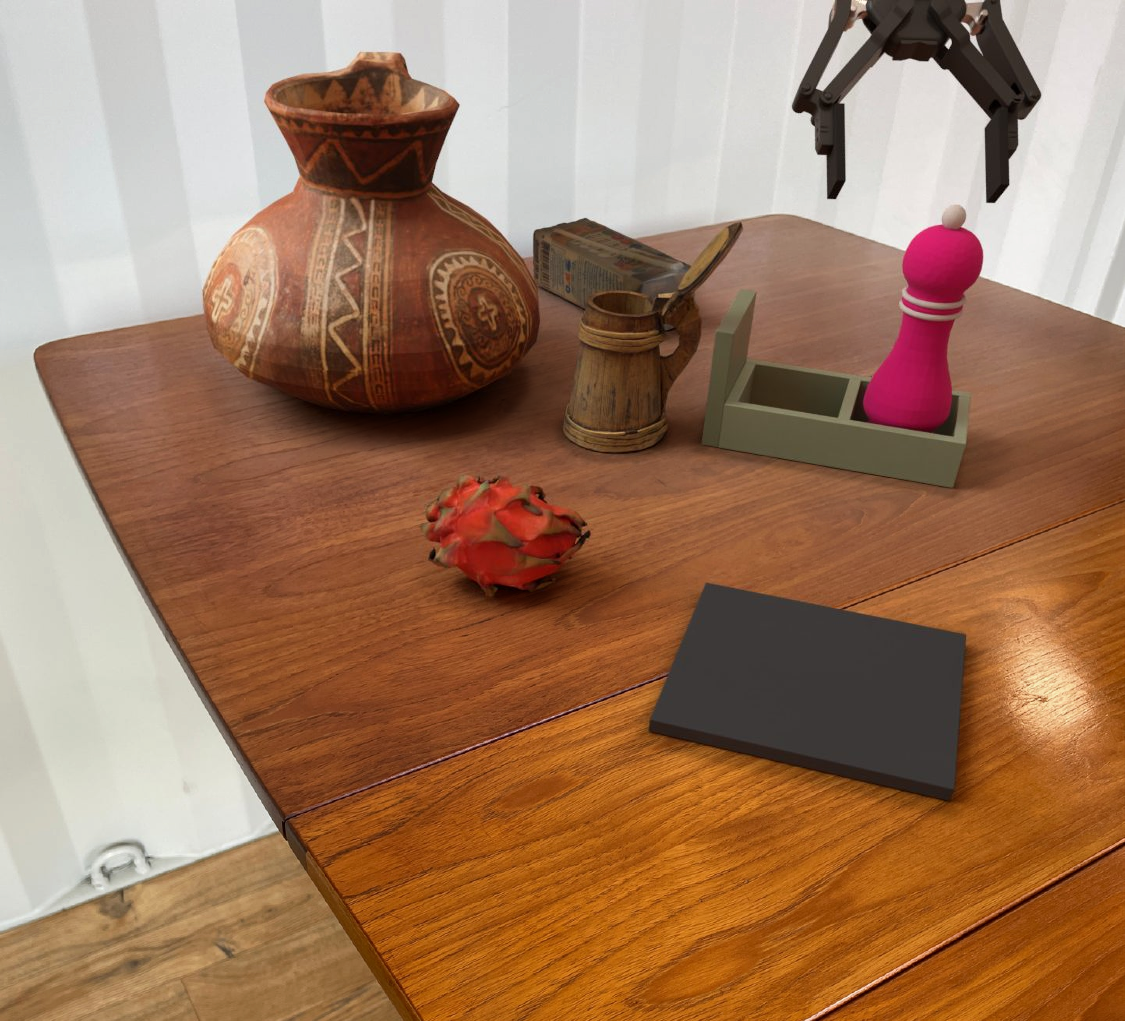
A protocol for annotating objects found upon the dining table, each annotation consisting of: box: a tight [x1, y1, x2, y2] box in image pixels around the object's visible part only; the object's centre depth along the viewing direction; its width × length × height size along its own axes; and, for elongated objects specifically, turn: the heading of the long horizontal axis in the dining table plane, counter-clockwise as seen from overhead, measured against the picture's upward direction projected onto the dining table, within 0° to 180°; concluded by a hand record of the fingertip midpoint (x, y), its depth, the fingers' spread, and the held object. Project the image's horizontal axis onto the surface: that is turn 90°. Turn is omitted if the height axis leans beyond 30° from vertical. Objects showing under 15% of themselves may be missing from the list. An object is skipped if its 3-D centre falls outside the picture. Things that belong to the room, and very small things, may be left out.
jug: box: [201, 51, 541, 415], centre depth 95 cm, size 30×30×25 cm
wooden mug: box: [562, 221, 744, 453], centre depth 90 cm, size 9×14×18 cm, turn 82°
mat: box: [648, 582, 967, 802], centre depth 70 cm, size 18×16×1 cm
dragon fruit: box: [419, 473, 591, 597], centre depth 76 cm, size 8×8×12 cm
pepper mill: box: [863, 204, 984, 434], centre depth 88 cm, size 7×7×20 cm
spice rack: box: [701, 288, 972, 489], centre depth 93 cm, size 22×10×10 cm, turn 72°
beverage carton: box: [532, 217, 696, 332], centre depth 117 cm, size 8×19×7 cm, turn 37°
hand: (917, 192), depth 90 cm, fingers open, 13 cm apart
